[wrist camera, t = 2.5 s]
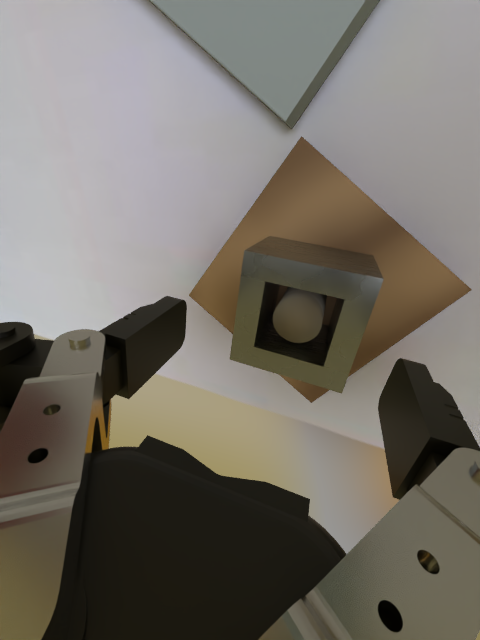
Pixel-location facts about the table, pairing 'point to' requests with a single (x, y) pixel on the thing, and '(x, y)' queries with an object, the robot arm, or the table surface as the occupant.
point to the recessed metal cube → (315, 276)
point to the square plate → (273, 42)
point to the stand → (337, 232)
